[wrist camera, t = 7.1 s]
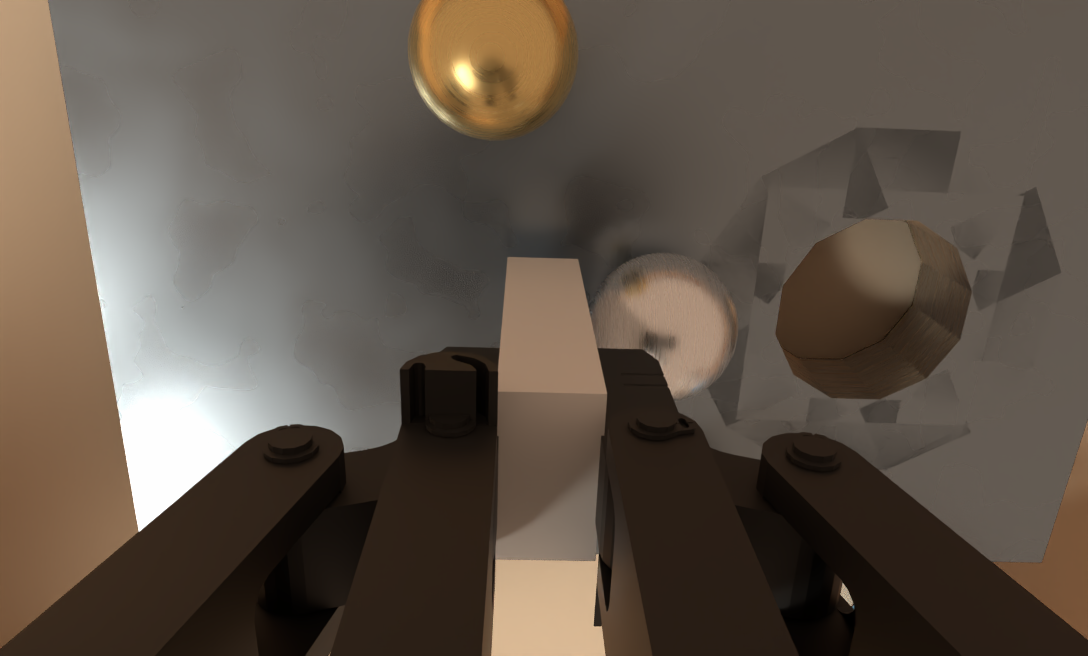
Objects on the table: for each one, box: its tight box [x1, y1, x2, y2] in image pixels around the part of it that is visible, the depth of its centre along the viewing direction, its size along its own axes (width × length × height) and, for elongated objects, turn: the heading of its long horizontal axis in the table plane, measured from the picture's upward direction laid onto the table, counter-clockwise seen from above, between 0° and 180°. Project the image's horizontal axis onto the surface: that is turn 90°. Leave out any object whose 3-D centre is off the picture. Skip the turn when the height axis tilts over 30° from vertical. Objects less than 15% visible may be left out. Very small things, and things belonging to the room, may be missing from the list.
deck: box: [48, 0, 1088, 563], centre depth 20 cm, size 24×14×2 cm, turn 88°
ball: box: [589, 253, 738, 401], centre depth 17 cm, size 3×3×3 cm
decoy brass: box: [408, 0, 578, 141], centre depth 15 cm, size 3×3×3 cm
